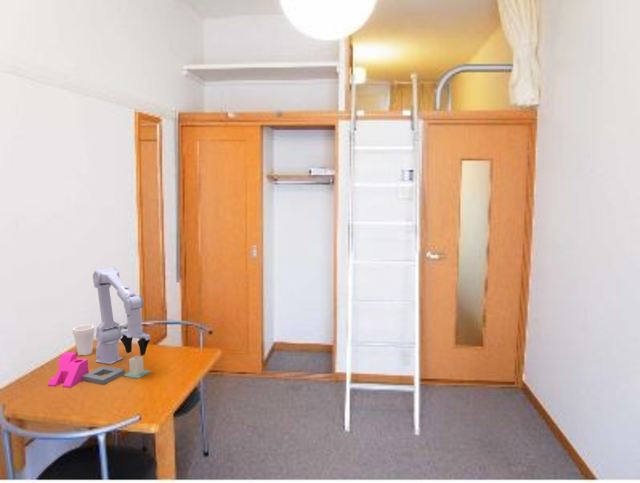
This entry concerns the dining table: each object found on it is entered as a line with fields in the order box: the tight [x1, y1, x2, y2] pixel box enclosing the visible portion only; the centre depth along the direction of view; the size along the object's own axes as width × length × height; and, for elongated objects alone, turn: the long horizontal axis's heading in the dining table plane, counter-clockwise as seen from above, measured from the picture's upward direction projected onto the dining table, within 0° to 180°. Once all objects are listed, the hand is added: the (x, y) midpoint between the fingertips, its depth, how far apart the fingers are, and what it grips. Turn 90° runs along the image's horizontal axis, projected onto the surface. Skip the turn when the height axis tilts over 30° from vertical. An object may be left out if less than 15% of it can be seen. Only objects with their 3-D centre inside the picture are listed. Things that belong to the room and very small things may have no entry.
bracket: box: [47, 351, 89, 389], centre depth 202 cm, size 12×10×10 cm
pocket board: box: [81, 365, 126, 385], centre depth 207 cm, size 12×12×2 cm
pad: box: [122, 369, 152, 380], centre depth 210 cm, size 8×8×1 cm
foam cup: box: [72, 324, 95, 356], centre depth 235 cm, size 10×9×13 cm
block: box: [128, 355, 145, 376], centre depth 210 cm, size 4×4×7 cm
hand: (136, 353), depth 209 cm, fingers open, 7 cm apart
